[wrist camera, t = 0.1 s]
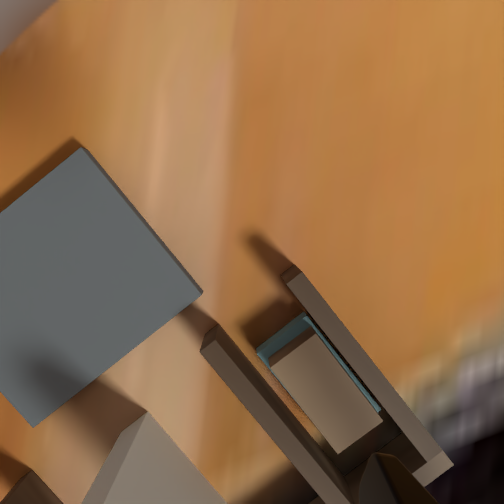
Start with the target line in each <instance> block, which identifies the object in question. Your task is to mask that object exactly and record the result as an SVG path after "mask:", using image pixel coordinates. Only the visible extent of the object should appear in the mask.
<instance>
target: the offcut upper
mask: <svg viewBox="0 0 504 504" xmlns="http://www.w3.org/2000/svg"><path fill="white" fill-rule="evenodd" d="M268 360H269V366H270V369H271V370H272V371H273V373H274V374H275V375H276V377H277V378H278V379H279V380H280V382H281V383H282V384H283V385H284V387H285V388H286V389H287V390H288V392H289V393H290V394H291V396H292V397H293V398H294V399H295V401H296V402H297V403H298V404H299V406H300V407H301V408H302V409H303V411H304V412H305V413H306V415H307V416H308V417H309V418H310V420H311V421H312V422H313V423H314V425H315V426H316V427H317V429H318V430H319V431H320V432H321V434H322V435H323V436H324V437H325V439H326V440H327V441H328V442H329V444H330V445H331V446H332V448H333V449H334V450H335V451H336V453H337V454H339V453H340V452H342V451H343V450H344V449H346V448H347V447H349V446H350V445H351V444H353V443H354V442H355V441H357V440H358V439H359V438H361V437H362V436H364V435H365V434H366V433H368V432H369V431H370V430H372V429H373V428H375V427H376V426H377V425H379V424H380V423H381V422H383V420H382V418H381V417H380V415H379V414H378V412H377V411H376V409H375V408H374V407H373V405H372V404H371V403H370V401H369V400H368V399H367V398H366V396H365V395H364V394H363V392H362V391H361V390H360V388H359V387H358V386H357V384H356V383H355V382H354V381H353V379H352V378H351V377H350V375H349V374H348V373H347V371H346V370H345V369H344V368H343V366H342V365H341V364H340V362H339V361H338V360H337V358H336V357H335V356H334V355H333V353H332V352H331V351H330V349H329V348H328V347H327V345H326V344H325V343H324V342H323V340H322V339H321V338H320V336H319V335H318V334H317V332H316V331H315V330H314V328H313V327H312V326H310V327H309V328H307V329H306V330H305V331H303V332H302V333H301V334H299V335H298V336H297V337H295V338H294V339H293V340H291V341H290V342H289V343H287V344H286V345H285V346H283V347H282V348H281V349H279V350H278V351H276V352H275V353H274V354H272V355H271V356H270V357H268Z"/></svg>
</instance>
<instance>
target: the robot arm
mask: <svg viewBox="0 0 504 504" xmlns="http://www.w3.org/2000/svg"><path fill="white" fill-rule="evenodd" d="M359 504H439V503H438V502H437V501H436V500H435V499H434V498H433V496H432V495H431V494H430V493H429V492H428V491H427V490H426V489H425V488H424V487H423V486H422V484H421V483H420V482H419V481H418V480H417V479H416V478H415V477H414V476H413V475H412V474H411V472H410V471H409V470H408V469H407V468H406V467H405V466H404V465H403V464H402V463H401V462H400V460H399V459H398V458H396V457H395V456H393V455H390V454H384V453H378V452H375V453H373V454H372V455H371V456H370V458H369V460H368V463H367V466H366V468H365V471H364V474H363V476H362V479H361V482H360V486H359Z"/></svg>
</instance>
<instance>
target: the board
mask: <svg viewBox="0 0 504 504" xmlns="http://www.w3.org/2000/svg"><path fill="white" fill-rule="evenodd" d="M82 504H227V502H226V501H225V500H224V499H223V498H222V497H221V495H220V494H219V493H218V492H217V491H216V490H215V489H214V487H213V486H212V485H211V484H210V483H209V482H208V480H207V479H206V478H205V477H204V476H203V475H202V473H201V472H200V471H199V470H198V469H197V468H196V466H195V465H194V464H193V463H192V462H191V461H190V460H189V458H188V457H187V456H186V455H185V454H184V453H183V451H182V450H181V449H180V448H179V447H178V446H177V444H176V443H175V442H174V441H173V440H172V439H171V438H170V436H169V435H168V434H167V433H166V432H165V431H164V429H163V428H162V427H161V426H160V425H159V424H158V422H157V421H156V420H155V419H154V418H153V417H152V415H151V414H150V413H149V412H146V413H145V414H144V415H142V416H141V417H140V418H139V419H137V420H136V421H135V422H133V423H132V424H131V425H130V426H128V427H127V428H126V429H124V430H123V431H122V432H121V433H120V435H119V437H118V439H117V441H116V442H115V444H114V446H113V448H112V450H111V451H110V453H109V455H108V457H107V459H106V460H105V462H104V464H103V466H102V468H101V469H100V471H99V473H98V475H97V477H96V478H95V480H94V482H93V484H92V486H91V487H90V489H89V491H88V493H87V495H86V496H85V498H84V500H83V502H82Z"/></svg>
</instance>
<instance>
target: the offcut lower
mask: <svg viewBox="0 0 504 504" xmlns="http://www.w3.org/2000/svg"><path fill="white" fill-rule="evenodd" d="M310 326H312V327H313V328H314V330H315V331H316V332H317V334H318V335H319V336H320V338H321V339H322V340H323V342H324V343H325V344H326V345H327V347H328V348H329V349H330V351H331V352H332V353H333V355H334V356H335V357H336V358H337V360H338V361H339V362H340V364H341V365H342V366H343V368H344V369H345V370H346V371H347V373H348V374H349V375H350V377H351V378H352V379H353V381H354V382H355V383H356V384H357V386H358V387H359V388H360V390H361V391H362V392H363V394H364V395H365V396H366V398H367V399H368V400H369V401H370V403H371V404H372V405H373V407H374V408H375V409H376V411H377V412H379V411H380V410H381V408H380V407H379V405H378V404H377V403H376V401H375V400H374V399H373V398H372V396H371V395H370V394H369V393H368V391H367V390H366V389H365V388H364V386H363V385H362V384H361V383H360V381H359V380H358V379H357V377H356V376H355V375H354V374H353V372H352V371H351V370H350V369H349V367H348V366H347V365H346V364H345V362H344V361H343V360H342V359H341V357H340V356H339V355H338V354H337V352H336V351H335V350H334V349H333V347H332V346H331V345H330V344H329V342H328V341H327V340H326V338H325V337H324V336H323V335H322V333H321V332H320V331H319V330H318V328H317V327H316V326H315V325H314V323H313V322H312V321H311V320H310V318H309V317H308V316H307V315H306V313H305V312H302V313H301V314H300V315H298V316H297V317H296V318H295V319H293V320H292V321H291V322H289V323H288V324H287V325H286V326H284V327H283V328H282V329H280V330H279V331H278V332H277V333H275V334H274V335H273V336H271V337H270V338H269V339H268V340H266V341H265V342H264V343H262V344H261V345H260V346H259V347H257V348H256V351H257V355H258V356H259V357H260V358H261V360H262V361H263V362H264V363H265V365H266V366H267V367H268V368H269V369H270V366H269V360H268V357H270V356H271V355H272V354H274V353H275V352H276V351H278V350H279V349H281V348H282V347H283V346H285V345H286V344H287V343H289V342H290V341H291V340H293V339H294V338H295V337H297V336H298V335H299V334H301V333H302V332H303V331H305V330H306V329H307V328H309V327H310ZM270 371H271V372H272V373H273V371H272V370H271V369H270ZM273 374H274V373H273ZM274 376H275V377H276V375H275V374H274ZM276 378H277V377H276ZM277 379H278V378H277ZM278 380H279V379H278ZM279 382H280V380H279ZM280 383H281V382H280ZM281 384H282V383H281ZM282 385H283V384H282ZM283 387H284V385H283ZM284 388H285V387H284ZM285 389H286V388H285ZM286 390H287V389H286ZM287 391H288V390H287ZM288 393H289V392H288ZM289 394H290V393H289ZM290 395H291V394H290ZM292 398H293V397H292ZM293 399H294V398H293ZM294 400H295V399H294ZM297 404H298V403H297ZM298 405H299V404H298ZM301 409H302V408H301ZM302 410H303V409H302Z"/></svg>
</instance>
